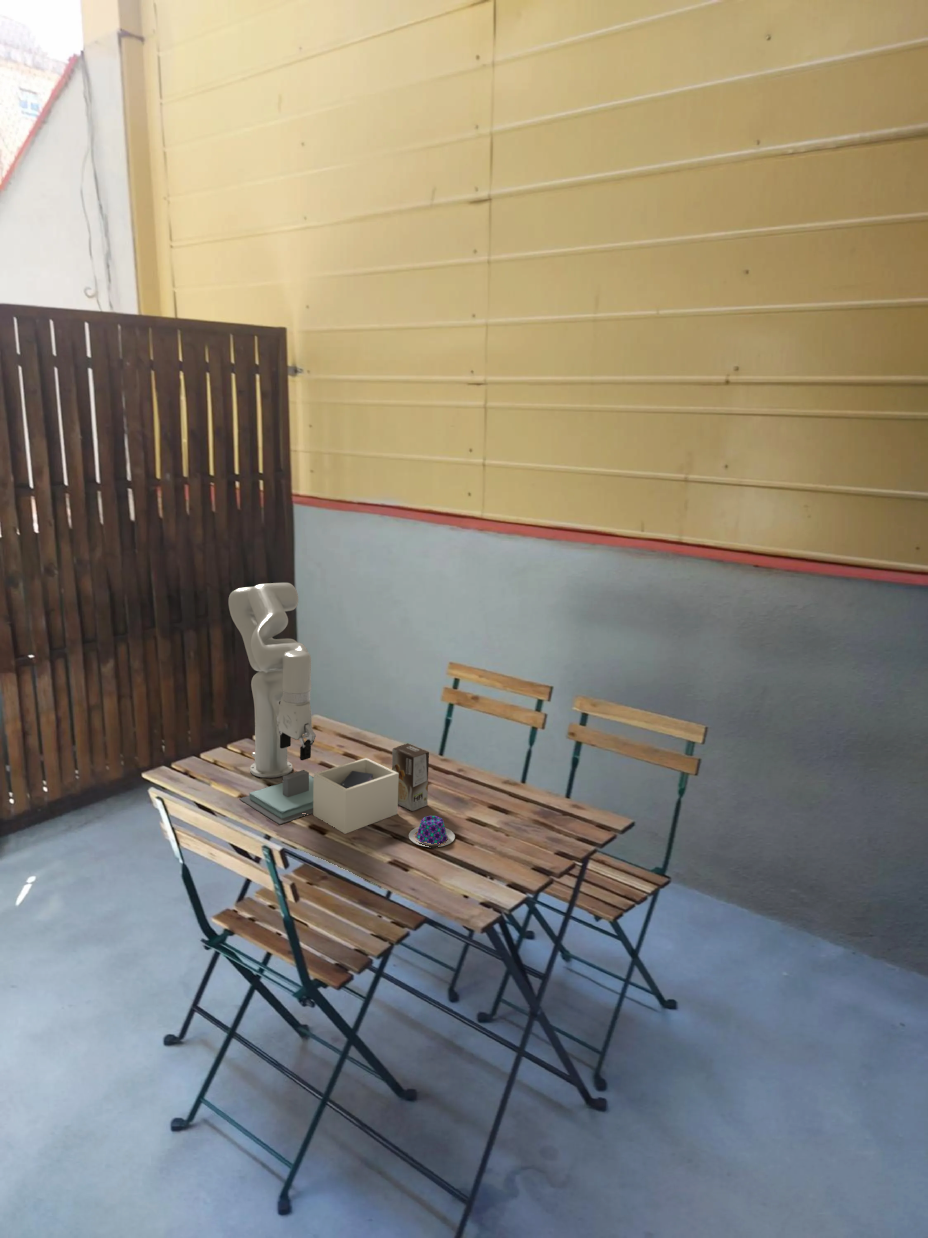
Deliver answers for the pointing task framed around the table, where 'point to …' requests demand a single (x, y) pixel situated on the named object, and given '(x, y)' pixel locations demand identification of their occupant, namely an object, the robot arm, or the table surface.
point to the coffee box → (411, 775)
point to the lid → (287, 795)
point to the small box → (356, 779)
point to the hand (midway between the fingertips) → (295, 753)
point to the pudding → (432, 831)
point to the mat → (270, 814)
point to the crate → (355, 796)
